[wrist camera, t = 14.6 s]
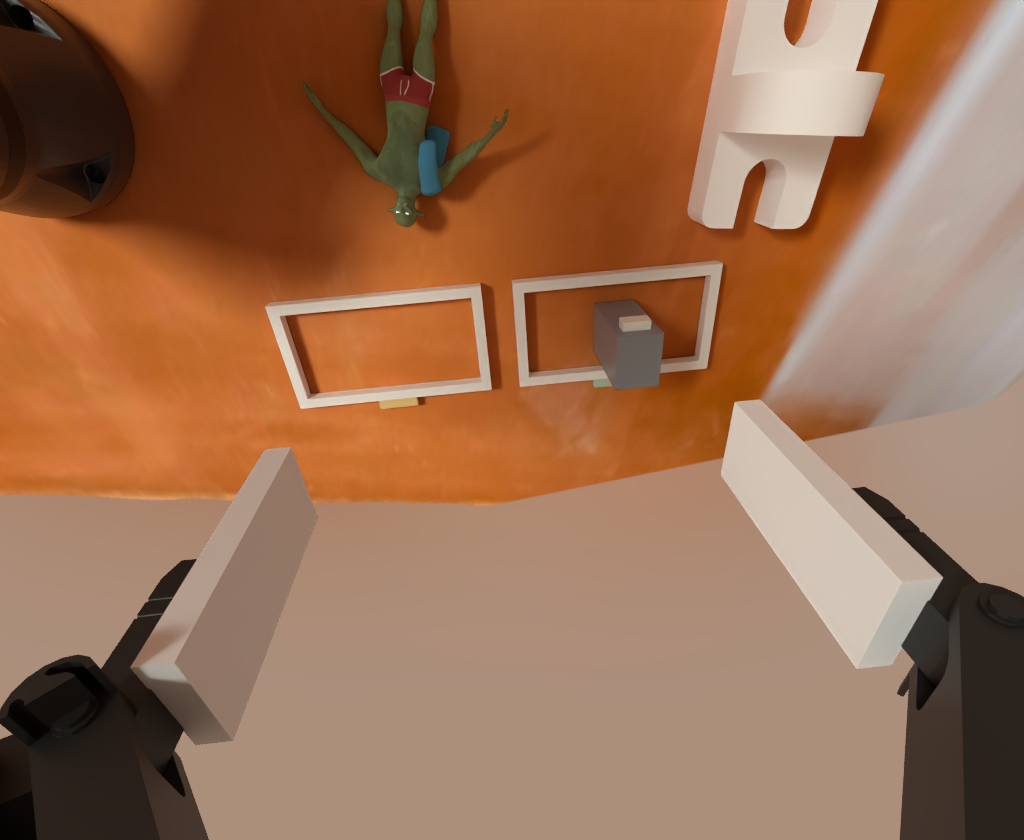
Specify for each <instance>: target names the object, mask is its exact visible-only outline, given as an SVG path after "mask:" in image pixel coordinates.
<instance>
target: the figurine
mask: <svg viewBox="0 0 1024 840" xmlns="http://www.w3.org/2000/svg"><path fill="white" fill-rule="evenodd" d="M386 16H387V24H388V31H387V37H386V40H385V43H384V47H383V50H382V54H381V59H380V81H381V86H382V89H383V92H384V97H385V106H386V117H387V126H388V134H387V140H386V143H385V144H384V146H383V148H382V150H381V153H380V154H379V156H378V158H377V157H376V155H375V154H374V153H373V151H372V150H371V149H370V148H369V147H368V146H367V145H366V144H365V143H364V142H363V141H362V140H360V139H359V138H358V137H357V136H356V135H355V133H354V132H353V131H352V130H350V129H349V128H348V127H347V126H346V125H344V124H343V123H341V122H340V121H339V120H337V119H336V118H335V117H333V116H332V115H331V114H330V113H329V112H328V111H327V110H326V109H325V107H324V106H323V104H322V102H321V101H320V100H319V99H318V98H317V97H316V95H315V93H314V91H312V92H313V94H312V93H311V91H310V87H309V86H308V85H307V83H306V85H305V83H304V81H303V85H304V89H305V91H306V93H307V95H308V97H309V99H310V100H311V102H312V103H313V104H314V105H315V106H316V107H317V108H318V110H319V111H320V113H321V114H322V115H323V116H324V117H325V119H326V120H327V121H328V122H329V123H330V124H331V126H332V127H333V128H334V129H335V131H336V132H337V133H338V134H339V136H340V137H341V138H342V139H343V140H344V142H345V143H346V144H347V145H348V146H349V147H350V148H351V149H352V151H353V152H354V154H355V155H356V157H357V159H358V160H359V161H360V163H361V164H362V165H363V168H364V171H365V172H366V173H367V174H368V175H369V176H371V177H372V178H373V179H375V180H377V181H381V182H384V183H386V184H388V185H390V186H391V187H393V188H394V189H395V190H396V191H397V193H398V198H397V200H396V205H395V207H394V208H391V209H388V211H389V212H394V213H395V219H396V222H397V223H398V224H399V225H401V226H404V227H409V226H412V225H413V224H414V223H415V221H416V216H424V217H425V215H424V214H422V213H420V212H419V211H418V210H416V209H415V198H416V196H417V195H419V194H420V193H422V194H423V195H427V196H431V195H435V194H437V193H439V192H441V191H442V190H443V188H444V187H446V186H448V185H449V184H450V183H451V182H452V181H453V179H454V177H455V176H456V175H457V174H458V172H459V171H460V170H461V169H462V168H463V167H465V166H466V165H468V164H469V163H470V162H471V161H472V160H474V158H475V157H476V156H477V155H478V154H479V153H480V152H481V150H482V149H483V148H484V147H485V145H486V144H487V143H488V142H489V141H490V140H491V139H492V138H493V137H494V135H495V134H496V133H497V132H498V131H499V130H500V129H501V128H502V127H503V125H504V124H505V122H506V120H507V116H508V115H507V114H508V110H509V109H507V111H506V110H505V112H504V116H503V118H502V119H501V121H500V122H496V118H497V116H496V117H495V119H494V122H493V124H492V126H491V130H490V132H489V133H488V134H487V135H486V136H485V137H483V138H482V139H480V140H478V141H476V142H474V143H471V144H470V145H469V146H468V147H466V148H465V149H464V150H463V151H462V152H460V153H459V154H457V155H455V156H454V157H452V158H451V159H450V160H449V161H447V162H446V163H445V154H446V150H447V147H448V143H449V137H450V132H449V131H447V130H445V129H443V128H441V127H437V126H434V125H430V126H429V127H428V129H427V132H426V139H425V135H424V131H425V125H426V121H427V117H428V113H429V109H430V104H431V101H432V97H433V91H434V86H435V63H434V56H433V50H432V38H433V35H434V33H435V31H436V29H437V24H438V10H437V0H425V1H424V5H423V8H422V12H421V22H420V24H421V31H420V35H419V38H418V41H417V44H416V47H415V52H414V57H413V74H412V76H411V77H410V76H408V75H404V67H403V59H402V51H401V41H400V30H401V27H402V23H403V10H402V5H401V0H387V8H386ZM444 163H445V164H444Z"/></svg>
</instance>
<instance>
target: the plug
mask: <svg viewBox="0 0 1024 840" xmlns="http://www.w3.org/2000/svg"><path fill="white" fill-rule="evenodd" d="M663 341H664V332H663V331H662V330H661V329H660V328H659V327H658V326H657V325H656V324H655V322H654V321H653V320H652V319H651V318H650V317H649V316H648V315H647V314H646V313H645V311H644V310H643V309H642V308H641V307H640V306H639V305H638V304H637V303H636V301H635V300H622V301H611V302H600V303H594V324H593V351H594V352H595V354H596V356H597V358H598V360H599V362H600V364H601V366H602V367H603V369H604V371H605V373H606V375H607V377H608V379H609V381H610V383H611V384H612V386H613V388H614V390H620V389H631V388H642V387H652V386H659V379H660V369H661V360H662V351H663Z"/></svg>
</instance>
